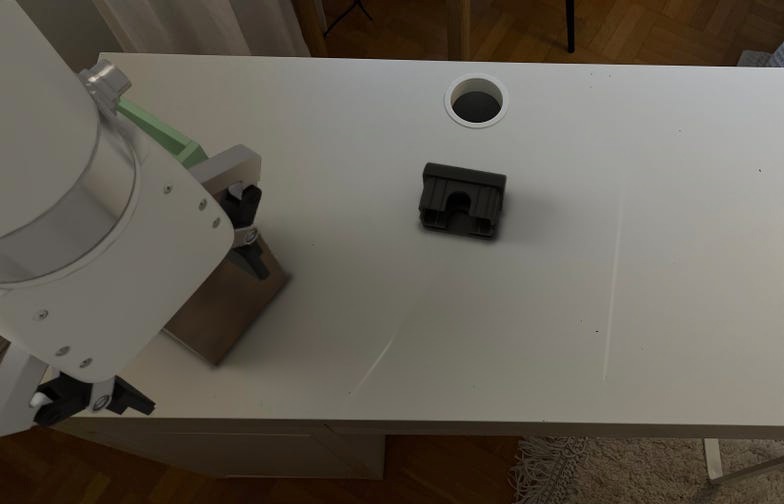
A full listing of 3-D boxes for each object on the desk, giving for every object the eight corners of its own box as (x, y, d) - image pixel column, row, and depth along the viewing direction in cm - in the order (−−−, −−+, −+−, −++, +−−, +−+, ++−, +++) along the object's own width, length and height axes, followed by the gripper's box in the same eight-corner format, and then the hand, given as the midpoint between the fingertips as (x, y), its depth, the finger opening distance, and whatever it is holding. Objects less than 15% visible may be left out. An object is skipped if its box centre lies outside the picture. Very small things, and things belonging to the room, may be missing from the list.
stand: (214, 366, 74) (112, 287, 53) (131, 307, 77) (1, 210, 55) (288, 278, 79) (222, 173, 58) (207, 226, 82) (115, 106, 60)
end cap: (504, 193, 85) (508, 165, 79) (495, 241, 82) (498, 216, 76) (429, 181, 86) (427, 152, 79) (418, 228, 83) (414, 202, 76)
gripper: (119, -14, 27) (243, 193, 43) (-283, 314, 21) (35, 417, 36) (258, 65, 26) (334, 250, 41) (-131, 446, 19) (133, 495, 35)
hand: (194, 328), depth 39 cm, fingers open, 9 cm apart
